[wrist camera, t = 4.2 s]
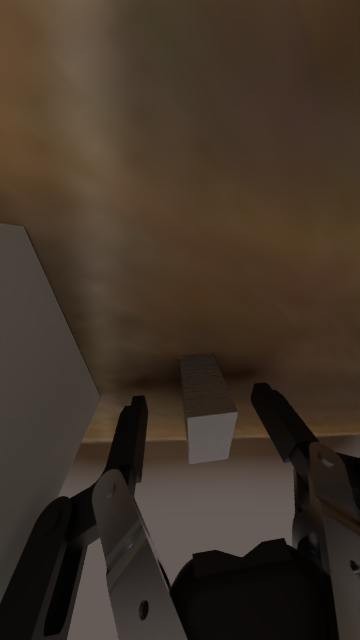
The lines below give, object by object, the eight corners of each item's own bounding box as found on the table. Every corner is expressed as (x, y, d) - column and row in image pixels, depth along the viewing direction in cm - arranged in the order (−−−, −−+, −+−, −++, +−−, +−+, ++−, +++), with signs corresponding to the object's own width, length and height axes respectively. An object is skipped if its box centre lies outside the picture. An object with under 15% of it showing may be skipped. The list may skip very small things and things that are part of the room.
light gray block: (212, 352, 11) (238, 411, 7) (209, 395, 13) (227, 458, 9) (179, 355, 11) (187, 417, 7) (182, 398, 13) (189, 464, 9)
